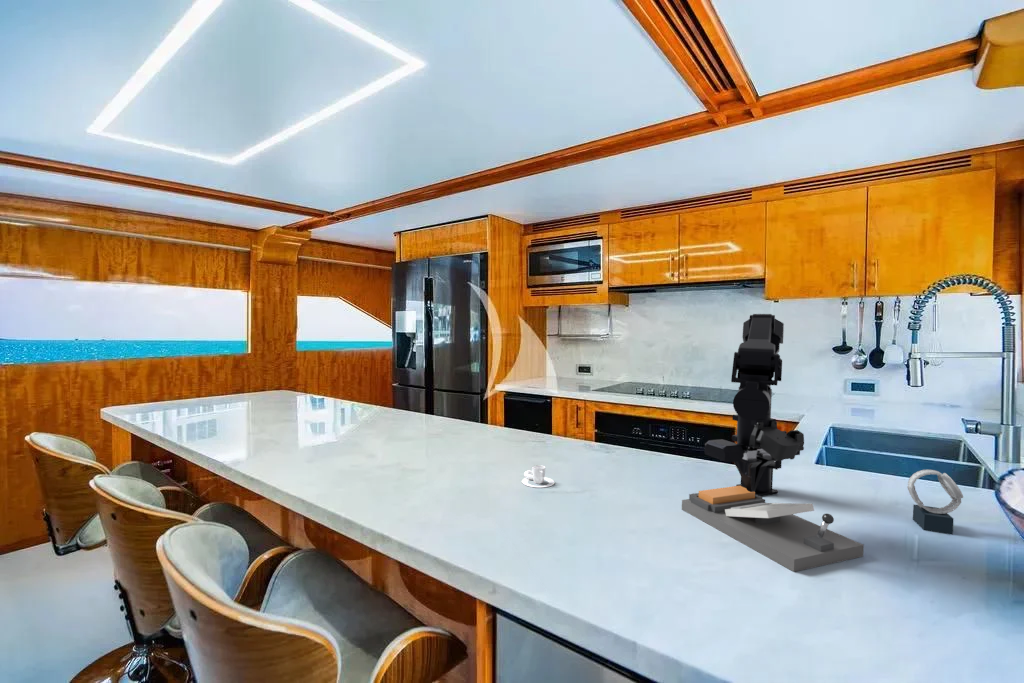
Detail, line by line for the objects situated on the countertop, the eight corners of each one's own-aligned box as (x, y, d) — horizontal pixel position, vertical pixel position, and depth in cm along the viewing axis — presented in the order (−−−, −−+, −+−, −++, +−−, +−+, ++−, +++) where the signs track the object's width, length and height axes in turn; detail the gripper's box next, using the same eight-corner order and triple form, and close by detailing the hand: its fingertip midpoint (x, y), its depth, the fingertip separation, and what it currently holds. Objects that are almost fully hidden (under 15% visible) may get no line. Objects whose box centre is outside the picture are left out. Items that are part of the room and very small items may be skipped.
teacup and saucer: (521, 476, 119) (522, 460, 118) (553, 477, 118) (553, 461, 118) (521, 489, 110) (521, 471, 110) (555, 490, 110) (555, 472, 109)
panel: (740, 500, 104) (741, 486, 104) (863, 556, 79) (864, 537, 79) (681, 509, 98) (682, 494, 98) (793, 571, 74) (794, 551, 74)
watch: (966, 536, 88) (969, 478, 87) (912, 528, 91) (915, 472, 91) (952, 525, 93) (955, 470, 93) (901, 517, 96) (904, 464, 96)
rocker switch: (769, 509, 94) (767, 502, 94) (814, 510, 85) (812, 502, 85) (726, 516, 90) (724, 508, 91) (768, 518, 81) (766, 509, 82)
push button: (739, 494, 101) (739, 485, 101) (754, 501, 97) (755, 491, 97) (698, 500, 97) (698, 490, 97) (712, 507, 94) (713, 497, 93)
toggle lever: (818, 533, 79) (828, 510, 78) (826, 540, 78) (837, 517, 76) (811, 534, 79) (821, 512, 77) (819, 541, 77) (830, 518, 76)
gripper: (751, 422, 80) (747, 513, 81) (828, 417, 86) (824, 501, 87) (703, 411, 90) (701, 490, 91) (776, 407, 97) (773, 481, 97)
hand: (750, 491), depth 91 cm, fingers closed
